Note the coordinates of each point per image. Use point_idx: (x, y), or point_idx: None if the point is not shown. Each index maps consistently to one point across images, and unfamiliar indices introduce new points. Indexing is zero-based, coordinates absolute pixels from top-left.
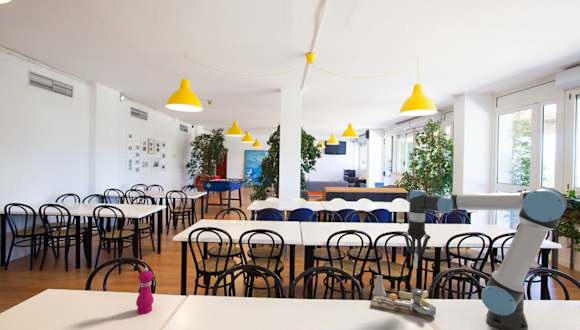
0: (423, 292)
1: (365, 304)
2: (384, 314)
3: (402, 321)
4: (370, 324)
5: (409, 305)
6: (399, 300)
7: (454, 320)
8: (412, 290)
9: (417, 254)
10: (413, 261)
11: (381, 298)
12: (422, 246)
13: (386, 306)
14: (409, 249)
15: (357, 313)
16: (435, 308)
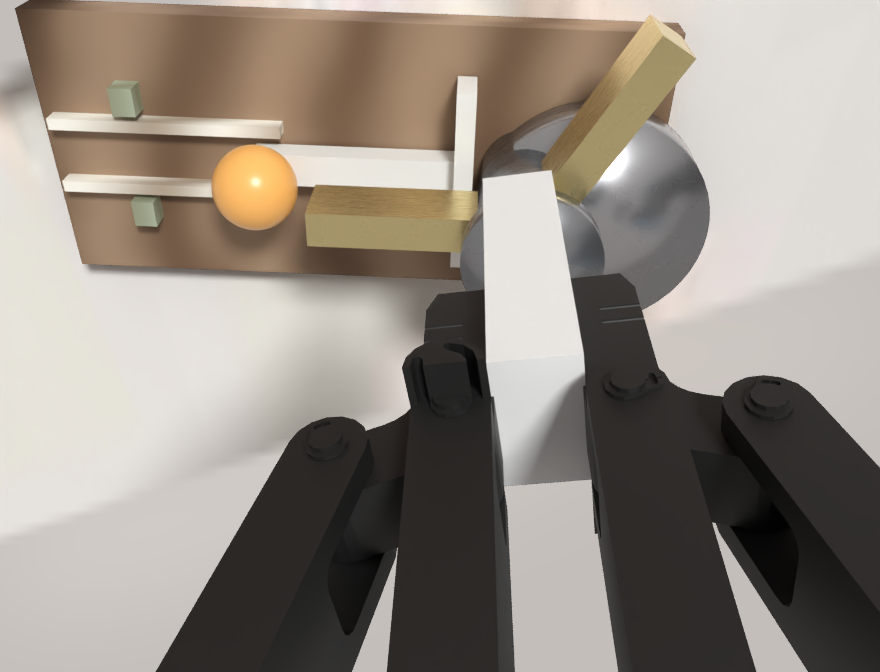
0: (601, 272)
1: (25, 209)
2: (238, 323)
3: (390, 374)
4: (183, 478)
5: (442, 187)
6: (330, 49)
7: (856, 200)
8: (467, 280)
9: (587, 457)
10: (484, 236)
11: (134, 131)
12: (840, 609)
13: (226, 251)
14: (340, 616)
15: (42, 382)
16: (703, 229)
